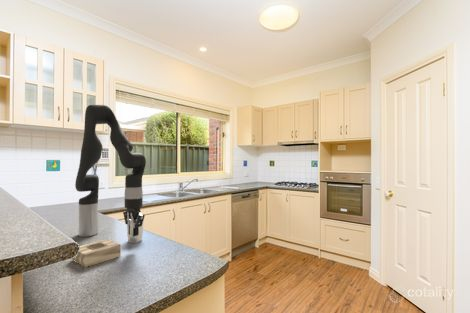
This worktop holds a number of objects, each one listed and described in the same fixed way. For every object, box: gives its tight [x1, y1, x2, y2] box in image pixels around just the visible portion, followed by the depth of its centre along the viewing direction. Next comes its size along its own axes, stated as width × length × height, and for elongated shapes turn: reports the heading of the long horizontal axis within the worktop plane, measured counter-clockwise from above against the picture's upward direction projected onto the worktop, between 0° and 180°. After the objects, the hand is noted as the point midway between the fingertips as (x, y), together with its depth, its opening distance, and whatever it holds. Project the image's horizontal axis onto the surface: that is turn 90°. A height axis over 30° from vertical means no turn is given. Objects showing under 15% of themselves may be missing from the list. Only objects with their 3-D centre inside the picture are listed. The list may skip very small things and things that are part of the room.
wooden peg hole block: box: [71, 238, 122, 268], centre depth 102 cm, size 12×14×5 cm
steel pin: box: [129, 219, 138, 244], centre depth 110 cm, size 3×3×10 cm
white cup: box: [126, 222, 144, 243], centre depth 124 cm, size 8×8×10 cm
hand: (133, 234), depth 110 cm, fingers closed on steel pin, 3 cm apart
